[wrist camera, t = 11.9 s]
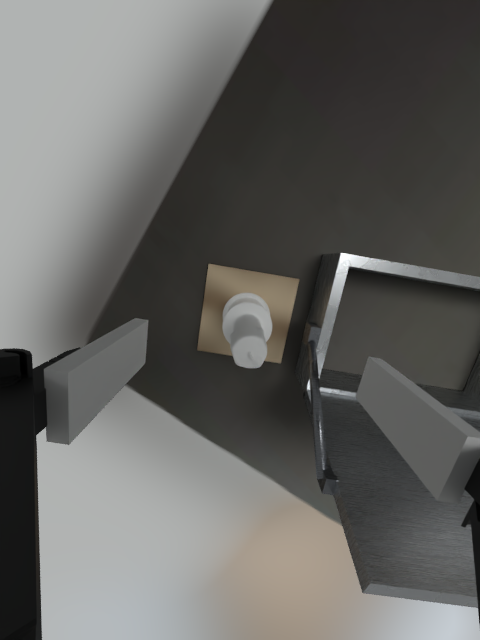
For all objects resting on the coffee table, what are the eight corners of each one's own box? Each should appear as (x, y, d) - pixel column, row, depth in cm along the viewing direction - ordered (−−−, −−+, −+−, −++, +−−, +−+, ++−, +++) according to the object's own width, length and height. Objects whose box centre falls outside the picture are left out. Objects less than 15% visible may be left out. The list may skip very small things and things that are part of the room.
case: (313, 252, 26) (481, 232, 8) (515, 288, 27) (1095, 344, 9) (281, 392, 30) (344, 594, 12) (459, 419, 31) (776, 650, 13)
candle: (278, 321, 28) (306, 365, 16) (240, 347, 28) (239, 406, 17) (252, 282, 27) (261, 299, 15) (213, 310, 27) (192, 345, 16)
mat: (209, 263, 27) (208, 263, 26) (298, 279, 27) (299, 279, 27) (197, 348, 29) (197, 350, 29) (280, 362, 29) (280, 363, 29)
